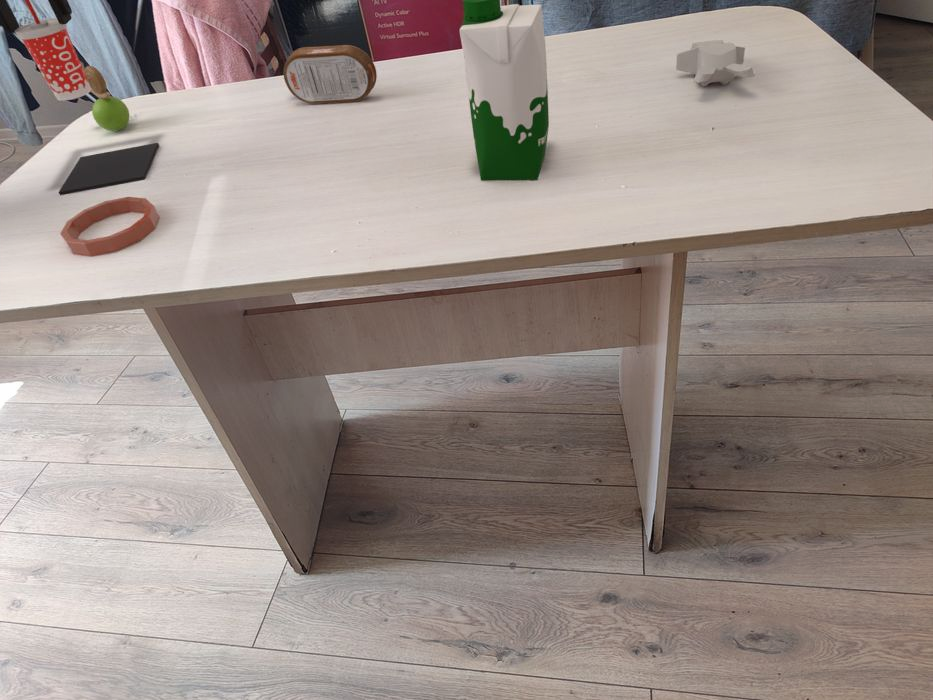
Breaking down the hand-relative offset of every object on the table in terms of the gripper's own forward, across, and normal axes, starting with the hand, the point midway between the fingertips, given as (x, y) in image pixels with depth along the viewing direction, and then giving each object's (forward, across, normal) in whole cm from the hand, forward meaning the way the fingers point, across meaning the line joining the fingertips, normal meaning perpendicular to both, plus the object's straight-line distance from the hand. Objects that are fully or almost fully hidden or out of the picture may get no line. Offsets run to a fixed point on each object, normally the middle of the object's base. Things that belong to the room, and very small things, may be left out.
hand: (39, 25), depth 87 cm
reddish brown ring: (+20, +6, -23) cm, 31 cm away
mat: (+20, 0, 0) cm, 20 cm away
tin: (+20, +34, +11) cm, 41 cm away
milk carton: (+20, +56, -24) cm, 64 cm away
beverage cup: (+9, 0, 0) cm, 9 cm away
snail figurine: (+20, -3, +17) cm, 27 cm away
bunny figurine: (+20, +89, -9) cm, 92 cm away
